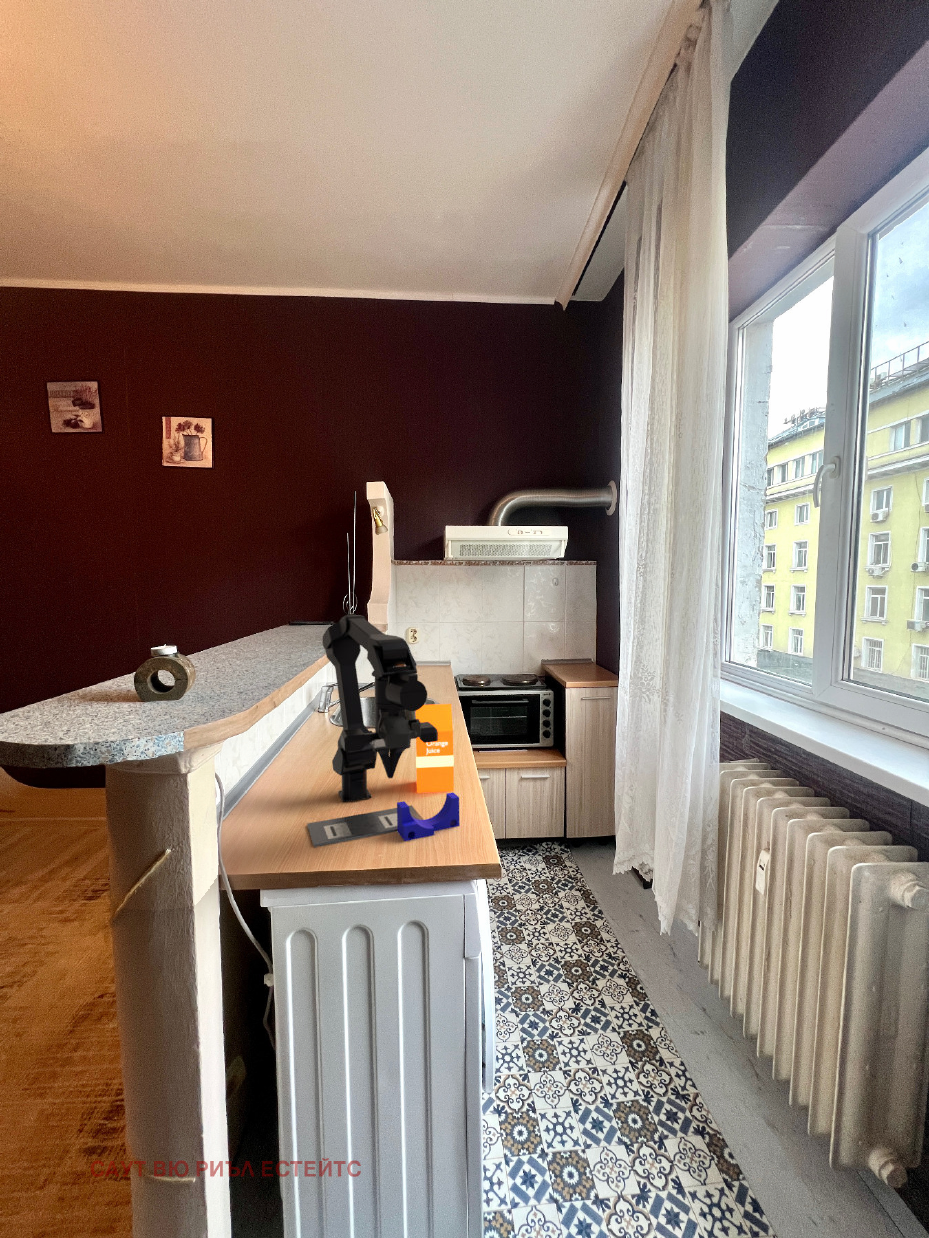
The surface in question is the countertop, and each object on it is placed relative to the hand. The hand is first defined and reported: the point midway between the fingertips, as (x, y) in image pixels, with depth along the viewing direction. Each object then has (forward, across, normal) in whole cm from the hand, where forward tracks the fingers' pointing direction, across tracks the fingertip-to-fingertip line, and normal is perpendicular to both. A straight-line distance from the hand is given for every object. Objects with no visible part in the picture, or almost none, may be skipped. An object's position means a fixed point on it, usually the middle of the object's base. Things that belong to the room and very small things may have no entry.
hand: (390, 777), depth 107 cm
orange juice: (+10, +15, +17) cm, 25 cm away
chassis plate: (+10, -5, +1) cm, 11 cm away
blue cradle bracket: (+10, +7, -6) cm, 13 cm away
